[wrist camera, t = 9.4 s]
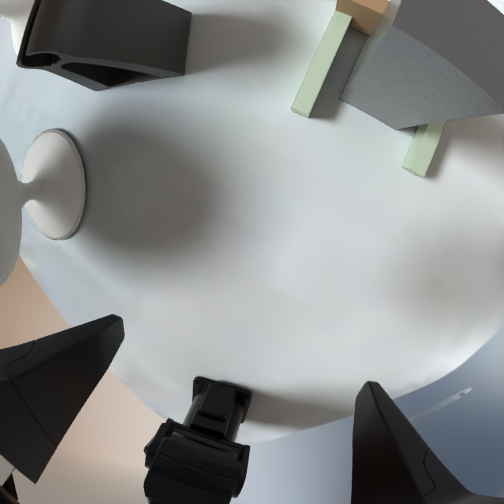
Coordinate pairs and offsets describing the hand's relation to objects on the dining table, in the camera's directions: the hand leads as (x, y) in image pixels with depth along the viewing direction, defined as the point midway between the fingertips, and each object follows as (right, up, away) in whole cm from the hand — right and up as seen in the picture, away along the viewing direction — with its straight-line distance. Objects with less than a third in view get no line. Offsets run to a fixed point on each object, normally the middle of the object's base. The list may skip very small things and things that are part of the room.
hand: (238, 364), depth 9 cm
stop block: (+9, +15, +7) cm, 19 cm away
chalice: (-21, +11, +14) cm, 27 cm away
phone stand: (-9, +21, +8) cm, 24 cm away
